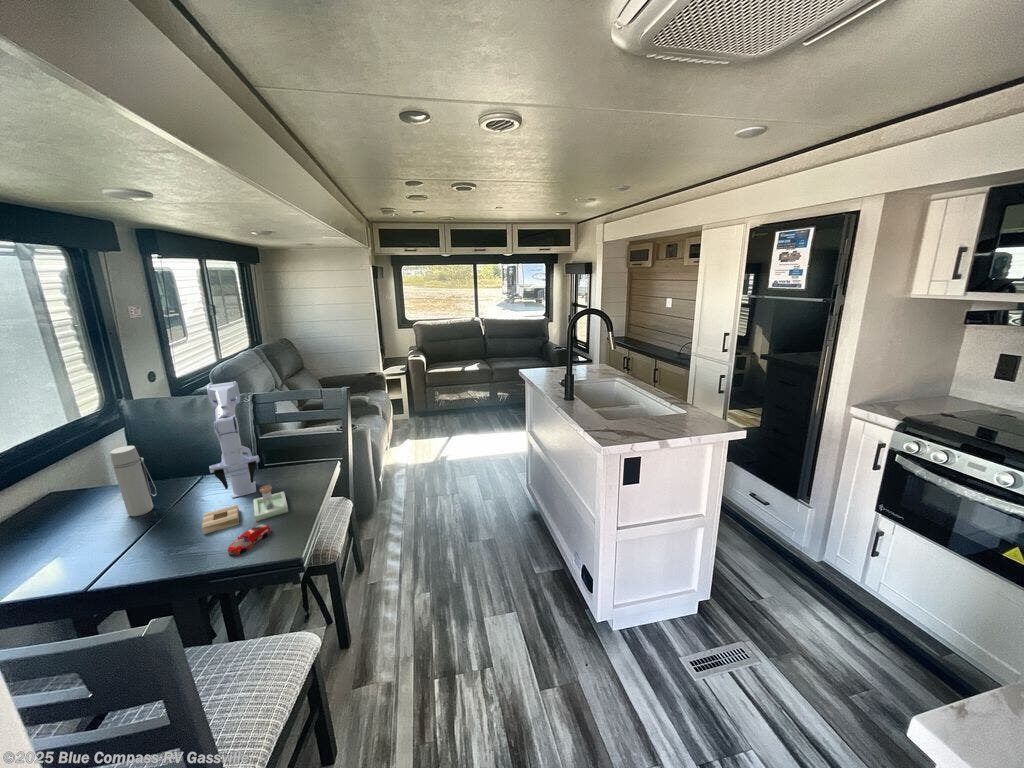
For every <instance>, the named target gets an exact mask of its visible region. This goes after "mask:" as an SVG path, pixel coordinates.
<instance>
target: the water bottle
mask: <svg viewBox="0 0 1024 768" xmlns="http://www.w3.org/2000/svg"><path fill="white" fill-rule="evenodd" d="M109 455H110V461H111V465H112V469H113V471H114V474H115V478H116V481H117V484H118V487H119V491H120V494H121V498H122V501H123V504H124V507H125V510H126V513H127V515H128V516H129V517H141V516H143V515H145V514H147V513H149V512H151V511H152V510H153V508H154V503H153V501H152V500H153V499H152V497H151V496H153V497H155V496H157V492H155V494H153V493H151V492H152V490H151V487H150V484H149V480H148V477H149V478H150V480H151V483H152V485H153V487H154V490H155V491H157V488H156V486H155V483H154V482H153V479H152V478H151V475H150V473H149V471H148V468H147V467H146V464H145V462H144V460H145V459H144V457H140V455H139V452H138V450H137V448H136V446H135V445H125V446H121V447H116V448H114V449H112V450H111V451H109ZM142 465H143V466H142ZM147 474H148V476H147Z"/></svg>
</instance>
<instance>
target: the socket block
mask: <svg viewBox="0 0 1024 768" xmlns="http://www.w3.org/2000/svg"><path fill="white" fill-rule="evenodd" d="M237 525H240V510H239V505H238V504H235V505H231V506H228V507H227V506H226V507H223V508H220V509H215V510H213V511H209V512H205V513H204V512H203V516H202V525H201V529H202V533H203V535H207V534H210V533H214V532H217V531H219V530H223V529H227V528H230V527H234V526H237Z"/></svg>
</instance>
